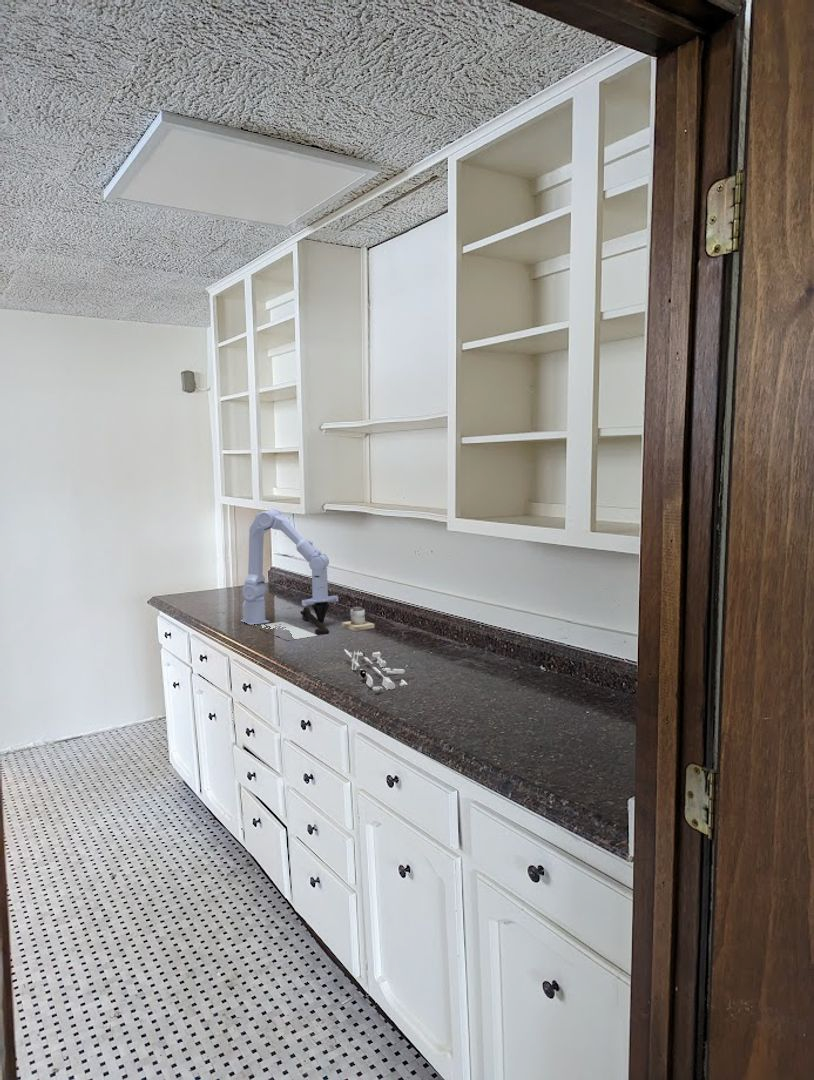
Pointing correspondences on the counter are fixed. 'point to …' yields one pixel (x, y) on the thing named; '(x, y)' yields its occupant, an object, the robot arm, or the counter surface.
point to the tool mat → (291, 630)
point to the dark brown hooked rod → (314, 621)
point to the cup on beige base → (358, 620)
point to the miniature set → (386, 681)
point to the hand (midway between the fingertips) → (320, 622)
